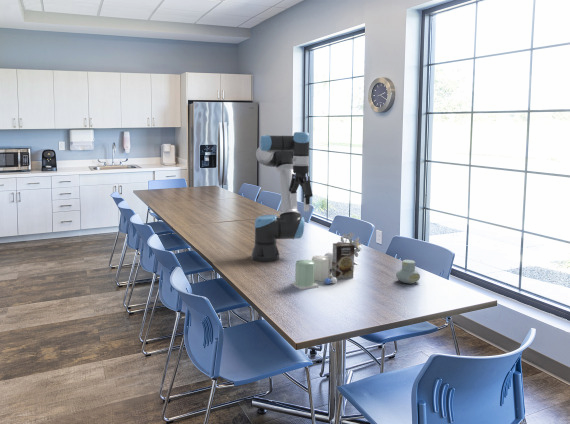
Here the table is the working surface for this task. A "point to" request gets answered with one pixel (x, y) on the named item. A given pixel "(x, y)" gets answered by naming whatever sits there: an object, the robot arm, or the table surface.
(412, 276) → the air freshener
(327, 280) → the marble
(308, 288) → the coaster
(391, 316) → the table surface
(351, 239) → the flower vase
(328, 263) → the cream cup
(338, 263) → the coffee box
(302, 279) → the sage green dome
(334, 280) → the marble
